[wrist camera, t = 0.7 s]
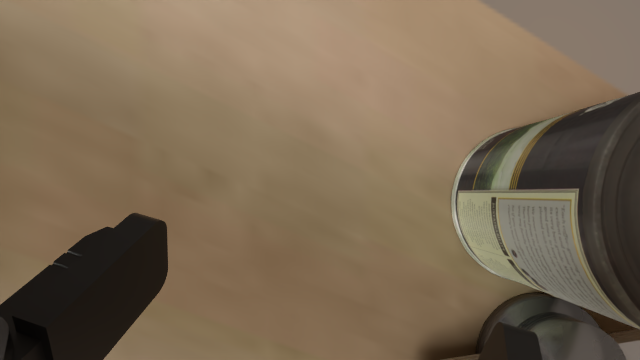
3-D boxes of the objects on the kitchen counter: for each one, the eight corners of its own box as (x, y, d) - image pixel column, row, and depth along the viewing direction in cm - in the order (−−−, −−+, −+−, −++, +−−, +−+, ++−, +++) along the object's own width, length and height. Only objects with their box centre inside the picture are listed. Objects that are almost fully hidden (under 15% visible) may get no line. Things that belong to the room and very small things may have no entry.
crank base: (584, 285, 30) (600, 289, 28) (601, 405, 30) (617, 417, 28) (468, 301, 29) (478, 307, 28) (484, 425, 29) (495, 438, 28)
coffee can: (461, 114, 30) (619, 41, 16) (608, 142, 30) (886, 97, 16) (436, 269, 29) (575, 338, 15) (586, 294, 30) (852, 383, 16)
